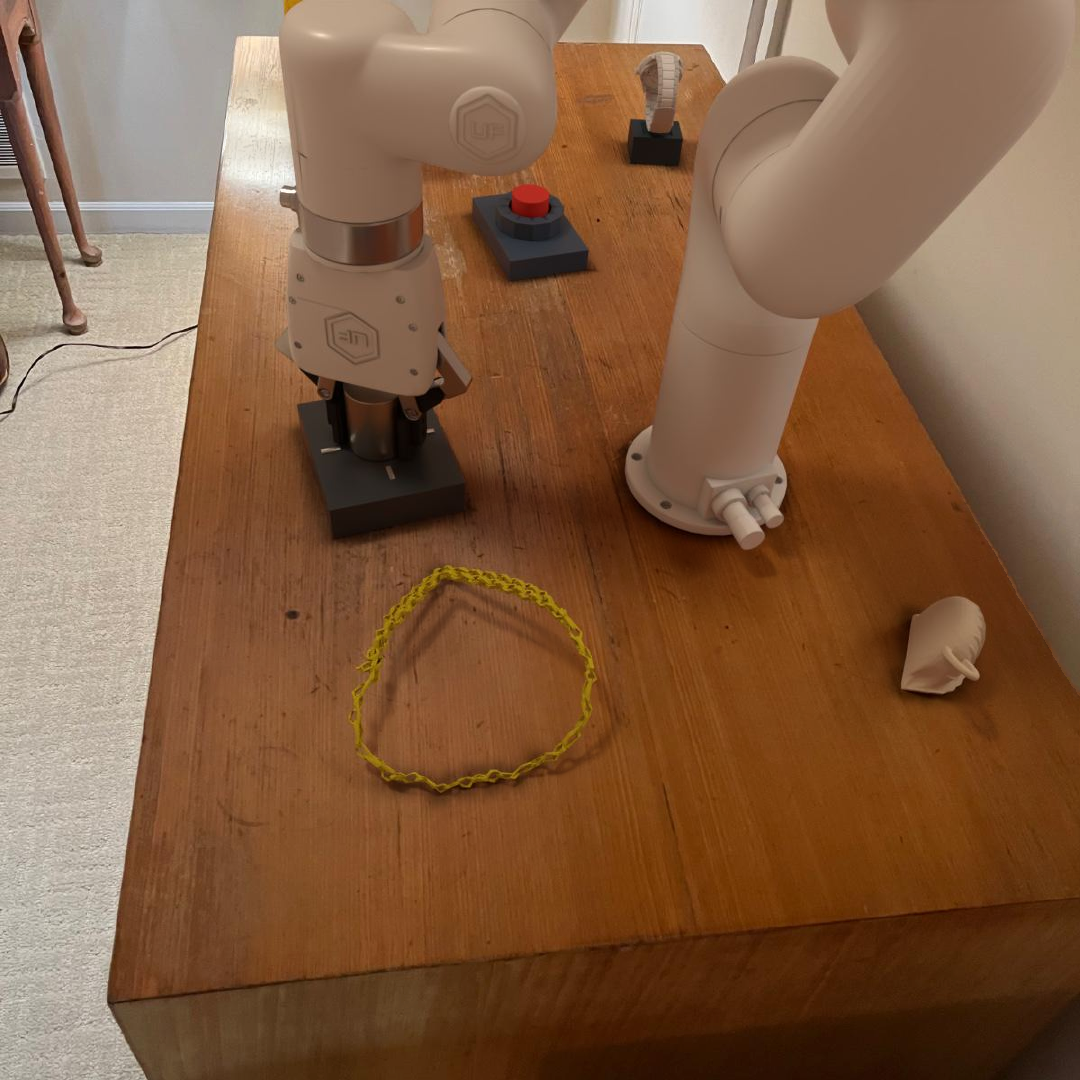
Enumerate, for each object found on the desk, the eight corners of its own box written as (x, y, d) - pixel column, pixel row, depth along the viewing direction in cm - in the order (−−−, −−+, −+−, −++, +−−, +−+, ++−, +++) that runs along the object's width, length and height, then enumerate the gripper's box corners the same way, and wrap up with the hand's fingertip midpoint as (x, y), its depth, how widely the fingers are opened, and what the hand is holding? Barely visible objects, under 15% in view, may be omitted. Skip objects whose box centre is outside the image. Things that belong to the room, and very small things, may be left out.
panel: (465, 511, 76) (465, 480, 74) (333, 539, 74) (329, 509, 71) (422, 410, 84) (421, 380, 82) (300, 432, 81) (296, 402, 79)
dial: (395, 467, 75) (391, 406, 70) (339, 453, 75) (332, 392, 71) (416, 429, 78) (414, 368, 73) (362, 416, 78) (357, 355, 74)
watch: (672, 139, 119) (688, 42, 111) (680, 173, 114) (697, 73, 106) (624, 137, 119) (637, 39, 111) (630, 171, 113) (644, 71, 105)
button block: (586, 269, 99) (590, 232, 97) (509, 281, 97) (511, 244, 94) (544, 207, 107) (547, 171, 104) (471, 217, 105) (472, 180, 102)
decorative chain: (438, 570, 72) (429, 527, 69) (635, 635, 68) (636, 593, 64) (313, 760, 63) (295, 721, 60) (531, 851, 58) (526, 815, 55)
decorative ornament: (971, 634, 71) (1001, 584, 67) (957, 727, 66) (989, 679, 62) (913, 614, 72) (939, 565, 68) (894, 705, 67) (922, 656, 63)
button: (553, 216, 99) (554, 200, 98) (518, 221, 98) (519, 205, 97) (540, 198, 101) (542, 182, 100) (506, 202, 100) (507, 186, 99)
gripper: (207, 222, 62) (252, 446, 75) (473, 279, 59) (469, 500, 73) (263, 166, 67) (295, 385, 80) (510, 216, 64) (500, 434, 78)
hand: (378, 438), depth 76 cm, fingers closed on dial, 4 cm apart
